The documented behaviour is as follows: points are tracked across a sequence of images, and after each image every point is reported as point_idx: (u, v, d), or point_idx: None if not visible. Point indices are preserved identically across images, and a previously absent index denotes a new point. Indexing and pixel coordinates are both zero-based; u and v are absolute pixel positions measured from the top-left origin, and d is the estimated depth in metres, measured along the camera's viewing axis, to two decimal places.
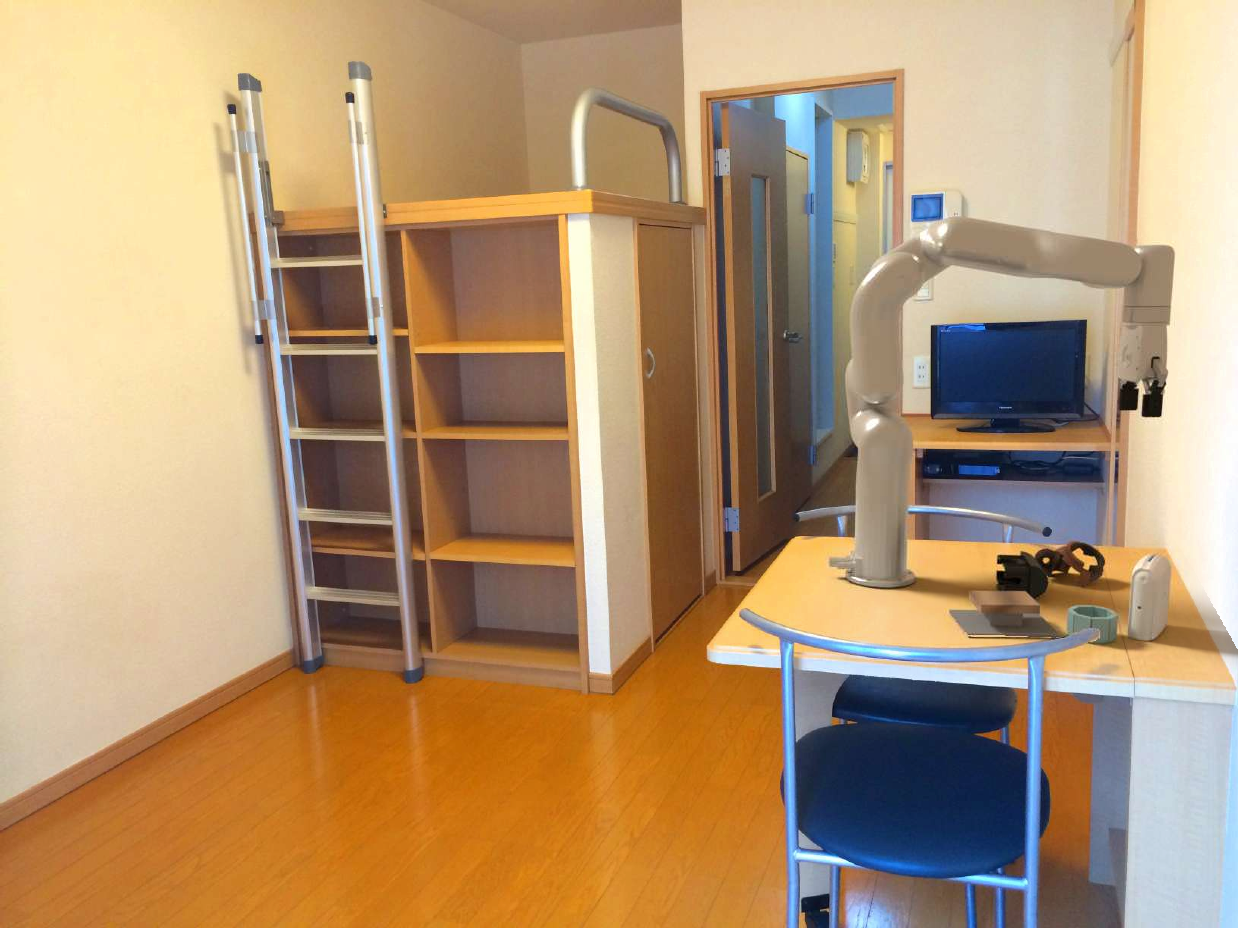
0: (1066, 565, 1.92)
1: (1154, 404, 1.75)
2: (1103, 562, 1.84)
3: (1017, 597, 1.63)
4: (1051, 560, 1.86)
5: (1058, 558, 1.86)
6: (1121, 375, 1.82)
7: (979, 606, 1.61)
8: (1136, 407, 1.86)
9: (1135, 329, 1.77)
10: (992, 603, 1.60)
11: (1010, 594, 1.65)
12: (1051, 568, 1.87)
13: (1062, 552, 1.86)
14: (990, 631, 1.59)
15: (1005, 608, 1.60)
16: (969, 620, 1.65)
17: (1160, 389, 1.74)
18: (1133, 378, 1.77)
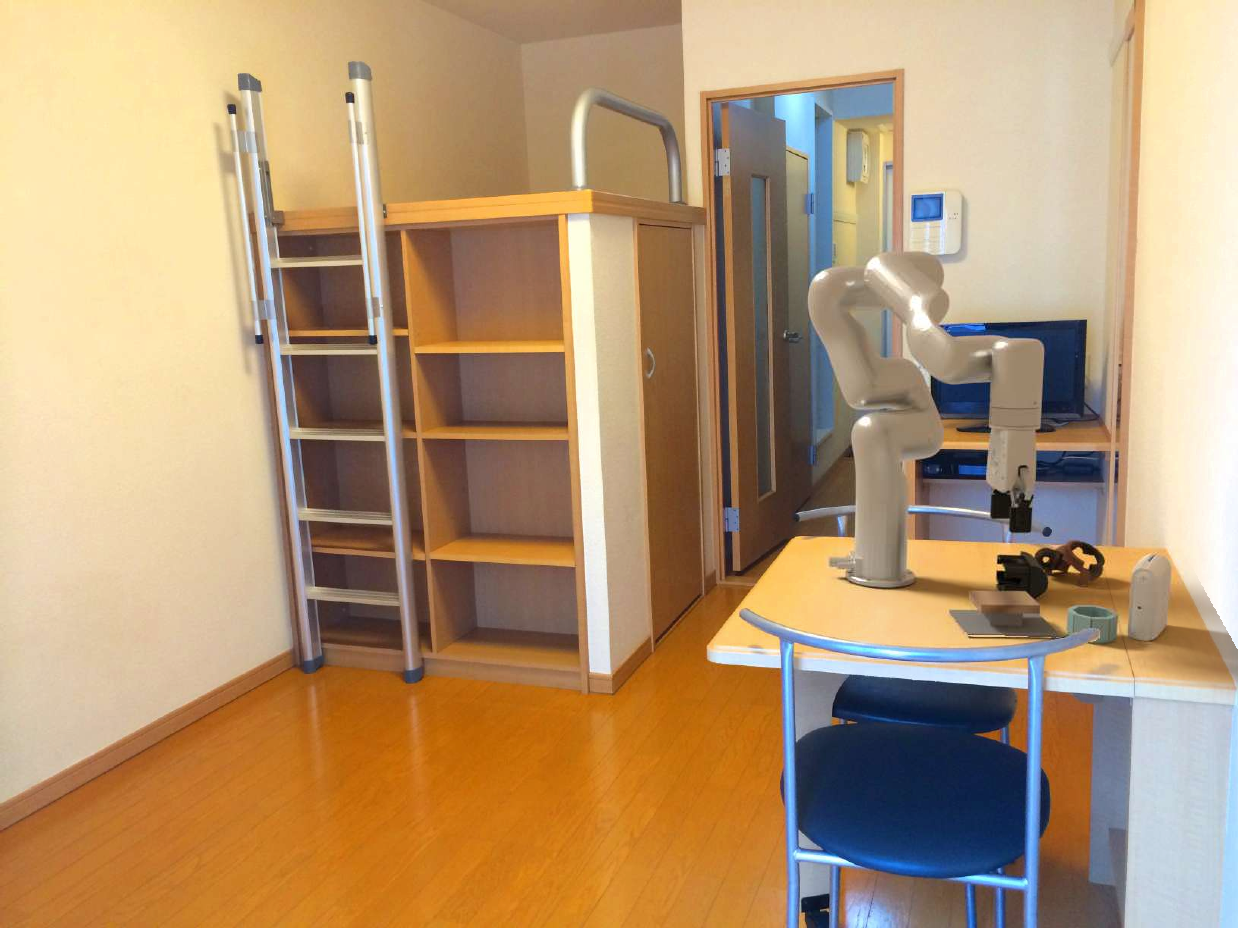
0: (1065, 564, 1.92)
1: (1022, 519, 1.55)
2: (1103, 561, 1.85)
3: (1017, 597, 1.63)
4: (1051, 559, 1.87)
5: (1058, 557, 1.86)
6: (990, 482, 1.62)
7: (979, 606, 1.61)
8: (1009, 515, 1.65)
9: (1001, 433, 1.57)
10: (992, 603, 1.60)
11: (1010, 594, 1.65)
12: (1051, 567, 1.87)
13: (1062, 551, 1.87)
14: (990, 631, 1.59)
15: (1005, 608, 1.60)
16: (969, 620, 1.65)
17: (1027, 503, 1.54)
18: (1000, 488, 1.57)
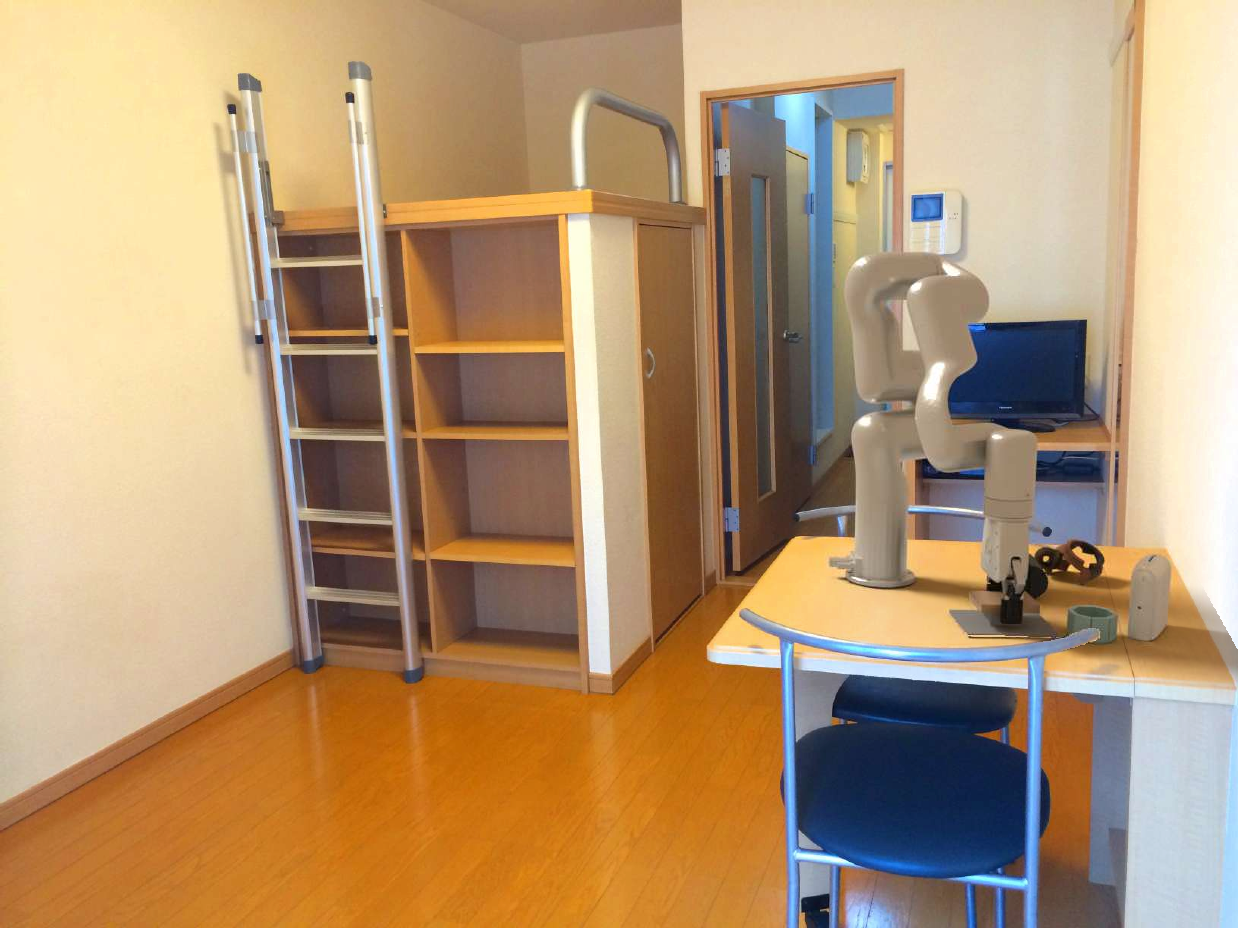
0: (1065, 563, 1.93)
1: (1013, 611, 1.58)
2: (1102, 560, 1.85)
3: None
4: (1051, 558, 1.87)
5: (1058, 556, 1.87)
6: (984, 568, 1.64)
7: (979, 606, 1.61)
8: None
9: (994, 524, 1.59)
10: (992, 603, 1.60)
11: None
12: (1051, 566, 1.88)
13: (1062, 550, 1.87)
14: (990, 631, 1.59)
15: None
16: (969, 620, 1.65)
17: (1018, 596, 1.57)
18: (993, 577, 1.59)
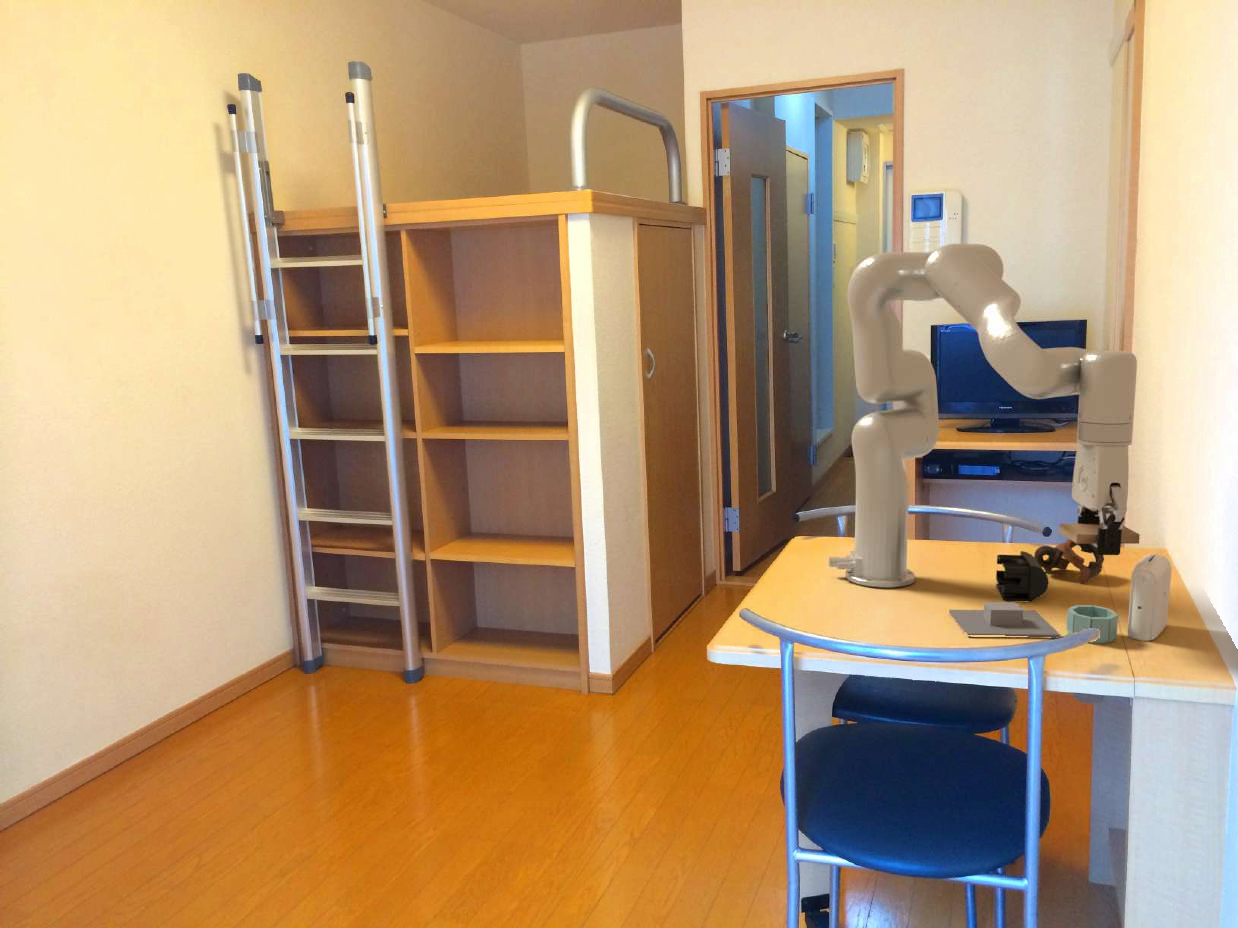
0: (1064, 562, 1.94)
1: (1111, 540, 1.50)
2: (1102, 559, 1.86)
3: None
4: (1051, 557, 1.88)
5: (1058, 555, 1.88)
6: (1077, 499, 1.56)
7: (1074, 536, 1.53)
8: None
9: (1091, 449, 1.51)
10: (1088, 533, 1.52)
11: None
12: (1051, 565, 1.89)
13: (1062, 549, 1.88)
14: (990, 631, 1.59)
15: None
16: (969, 620, 1.65)
17: (1117, 524, 1.49)
18: (1090, 506, 1.51)
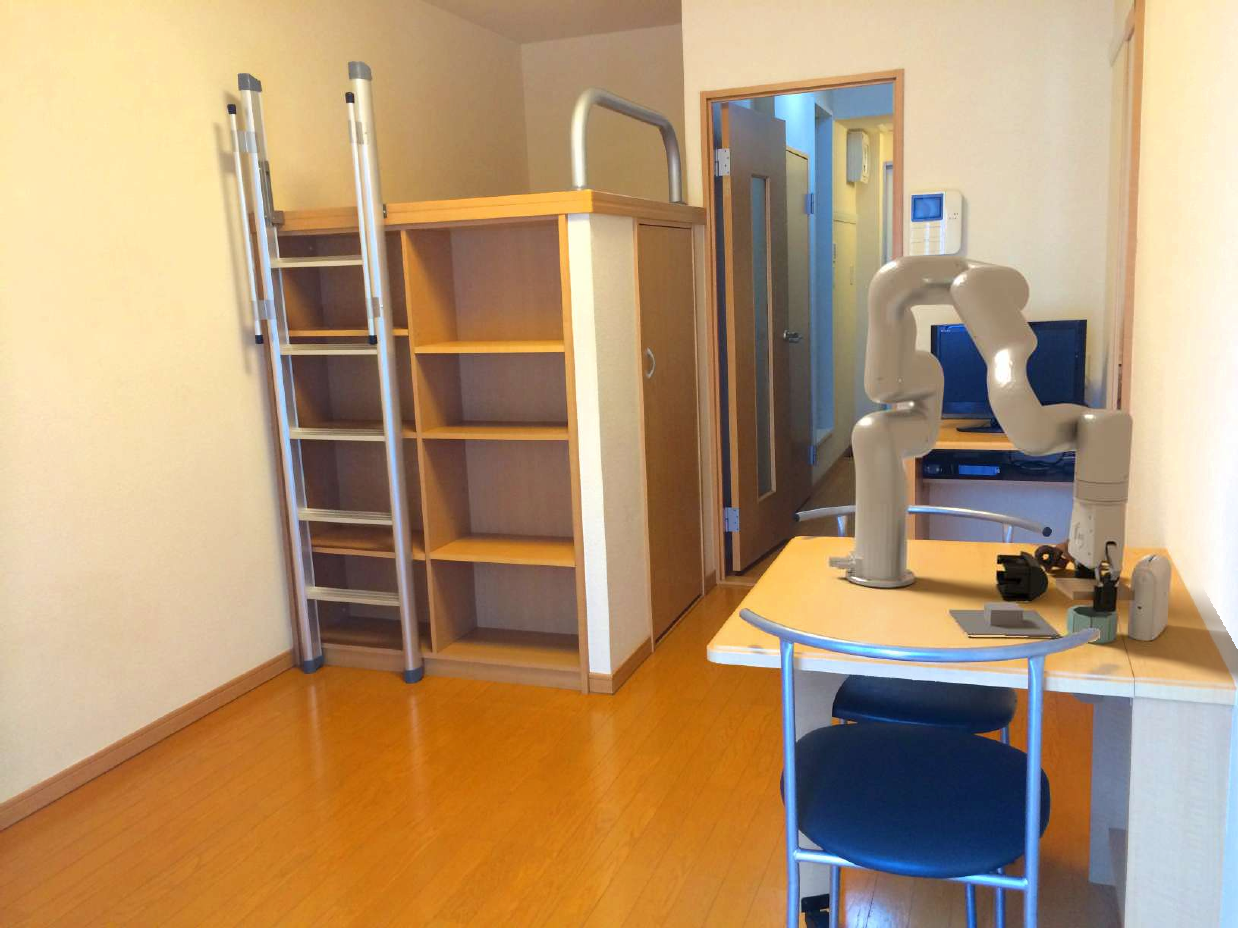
0: (1064, 561, 1.95)
1: (1107, 598, 1.52)
2: None
3: None
4: (1051, 556, 1.89)
5: (1058, 554, 1.88)
6: (1074, 554, 1.58)
7: (1070, 593, 1.54)
8: None
9: (1087, 507, 1.52)
10: (1084, 590, 1.54)
11: None
12: (1051, 564, 1.89)
13: (1062, 548, 1.89)
14: (990, 631, 1.59)
15: None
16: (969, 620, 1.65)
17: (1113, 582, 1.50)
18: (1086, 563, 1.53)
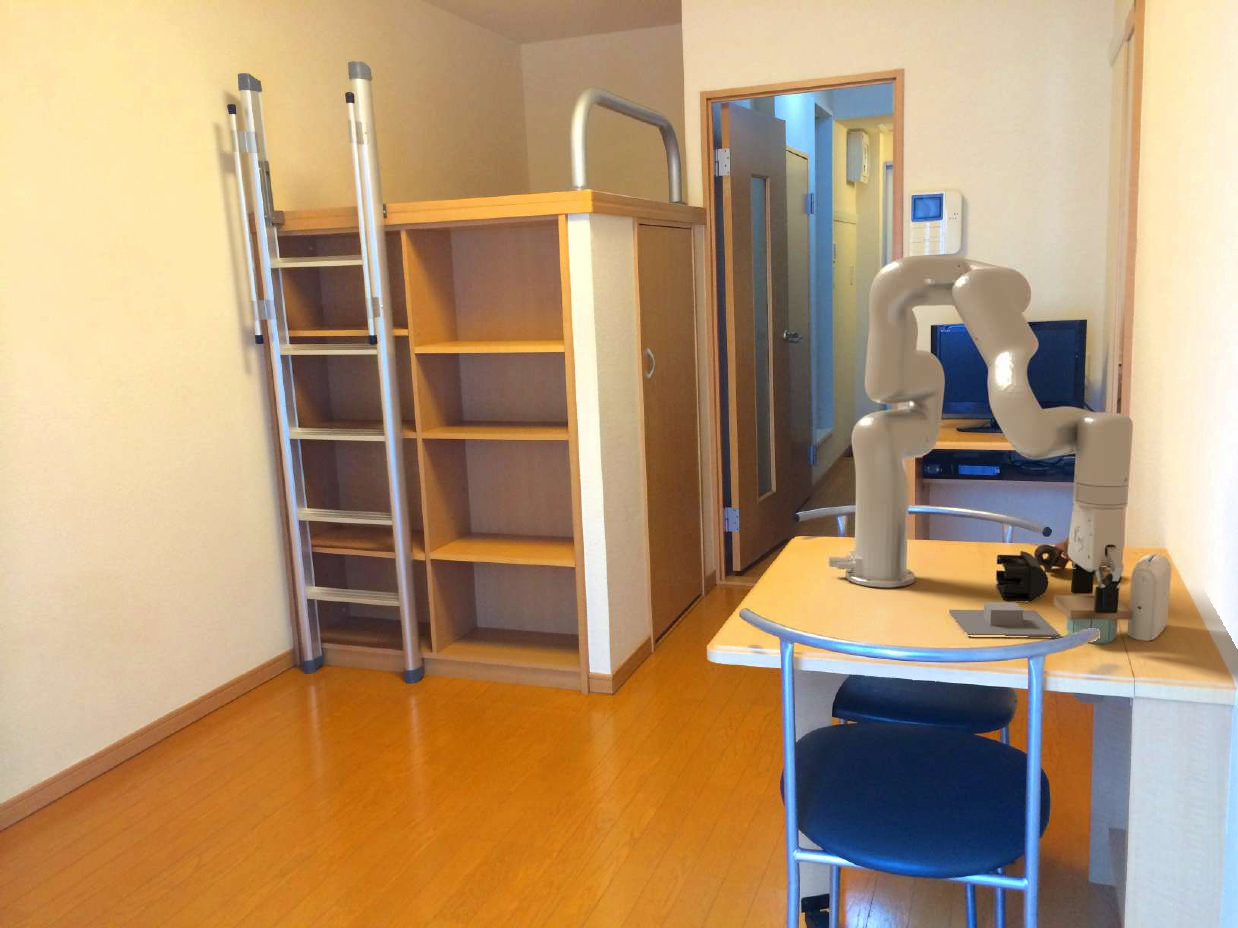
0: (1063, 560, 1.95)
1: (1108, 599, 1.51)
2: None
3: None
4: (1051, 556, 1.89)
5: (1058, 554, 1.89)
6: (1073, 557, 1.58)
7: (1068, 612, 1.55)
8: (1091, 590, 1.61)
9: (1087, 510, 1.53)
10: (1082, 608, 1.54)
11: None
12: (1051, 564, 1.90)
13: (1061, 548, 1.89)
14: (990, 631, 1.59)
15: (1096, 614, 1.54)
16: (969, 620, 1.65)
17: (1115, 584, 1.50)
18: (1085, 566, 1.53)
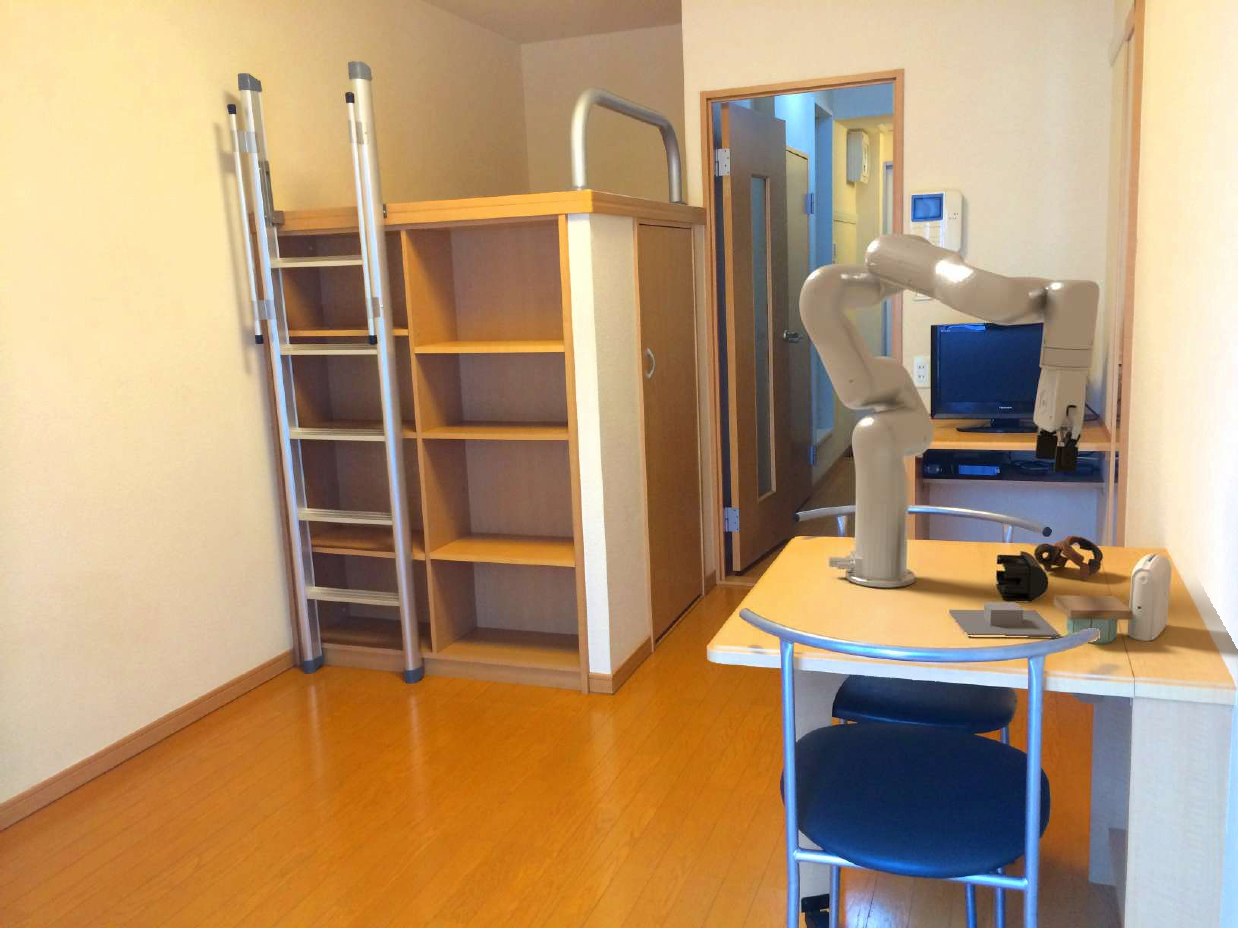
0: (1063, 559, 1.96)
1: (1067, 458, 1.58)
2: (1101, 556, 1.88)
3: (1106, 603, 1.57)
4: (1051, 555, 1.90)
5: (1058, 553, 1.89)
6: (1037, 421, 1.64)
7: (1068, 612, 1.55)
8: (1054, 456, 1.68)
9: (1051, 373, 1.59)
10: (1082, 608, 1.54)
11: (1097, 598, 1.59)
12: (1051, 562, 1.90)
13: (1061, 547, 1.90)
14: (990, 631, 1.59)
15: (1096, 614, 1.54)
16: (969, 620, 1.65)
17: (1074, 442, 1.56)
18: (1047, 427, 1.60)
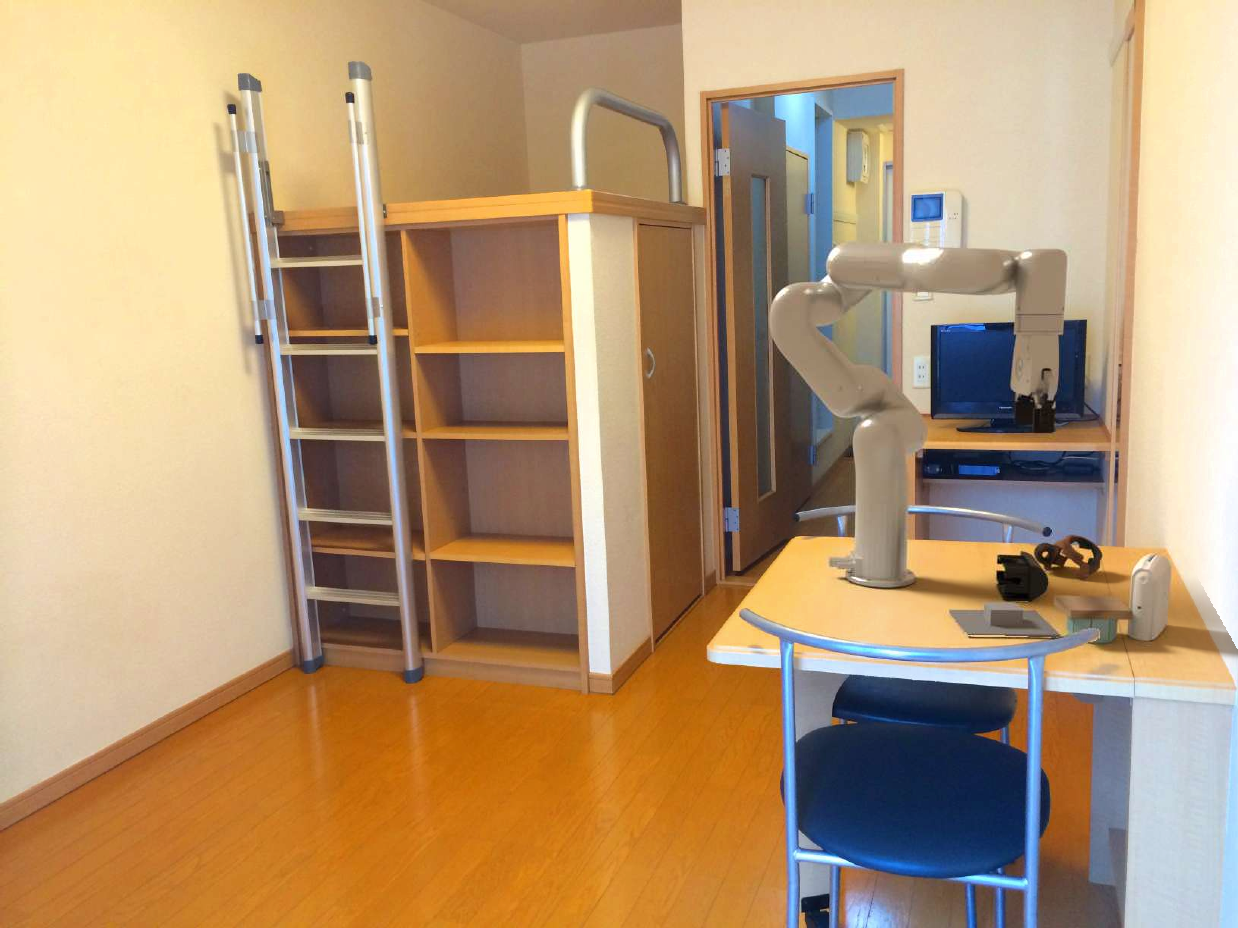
0: (1062, 558, 1.96)
1: (1045, 419, 1.64)
2: (1100, 555, 1.89)
3: (1106, 603, 1.57)
4: (1050, 554, 1.91)
5: (1057, 552, 1.90)
6: (1015, 388, 1.71)
7: (1068, 612, 1.55)
8: (1032, 421, 1.74)
9: (1025, 339, 1.65)
10: (1082, 608, 1.54)
11: (1097, 598, 1.59)
12: (1050, 562, 1.91)
13: (1061, 546, 1.90)
14: (990, 631, 1.59)
15: (1096, 614, 1.54)
16: (969, 620, 1.65)
17: (1050, 403, 1.62)
18: (1024, 391, 1.66)
